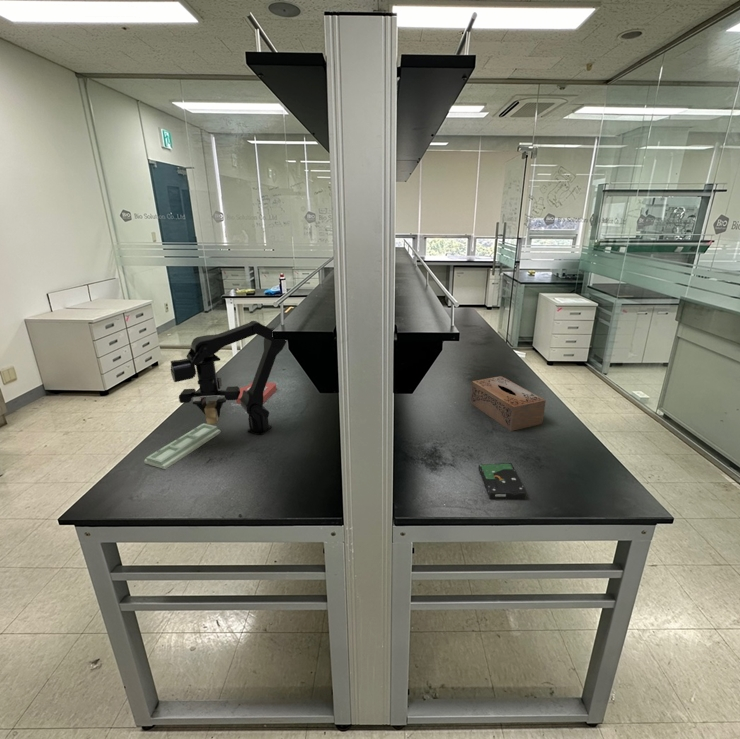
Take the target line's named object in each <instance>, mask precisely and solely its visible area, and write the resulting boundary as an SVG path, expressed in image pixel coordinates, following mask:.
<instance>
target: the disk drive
mask: <svg viewBox="0 0 740 739" xmlns="http://www.w3.org/2000/svg"><path fill="white" fill-rule="evenodd" d="M477 468H478V472H479V475H480V477H481V480H482V482H483V485H484V487H485V489H486V490H485V491H486V492H487V497H488V498H489V499H490V500H527V490H526V488H525V486H524V484H523V482H522V481H521V478H520V477H519V475H518V473H517V471H516V469H515V467H514V466H513V464H512V463H511V462H494V463H482V462H480V464H478V467H477Z"/></svg>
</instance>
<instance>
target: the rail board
mask: <svg viewBox="0 0 740 739" xmlns="http://www.w3.org/2000/svg"><path fill="white" fill-rule="evenodd" d="M219 434H221V430H220V429H218V426H217V425H213V424H211V425H207V423H201V424H199V425H198V426H197V427H194V428H193V429H191V430H189V432H187V433H184V434H183V435H182V436H180V437H177V438H176V439H175V440H173V441H172V442H170V443H168V444H167V445H165V446H163V447H161V448H160V449H157V450H156V451H155V452H153V453H151V454H149V455H148V456H146V458H145V459H144V460H143V461H144V464H146V465H150V466H153V467H156V468H158V469H163V470H166V469H168V468H170V467H171V466H173V465H174V464H175V463H177V462H179V461H180V460H182V459H183V458H185V457H186V456H188V455H189V454H191V453H192V452H193V451H195V450H197V449H198V448H200V447H202V446H203V445H205V444H206V443H208V442H209V441H210V440H213V438H215V437H216V436H219Z"/></svg>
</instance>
